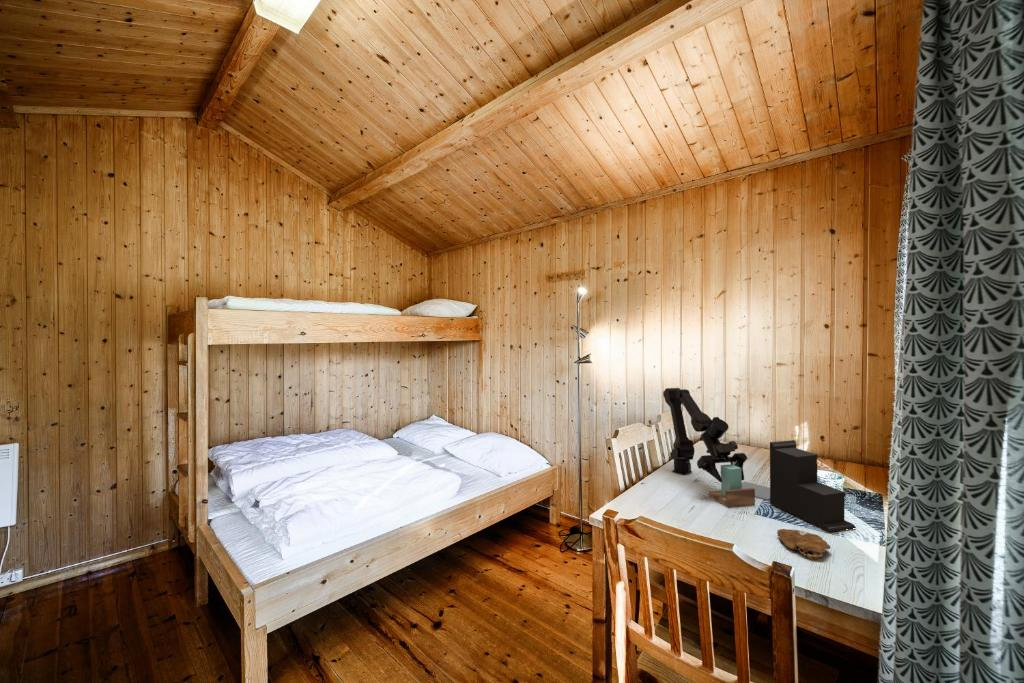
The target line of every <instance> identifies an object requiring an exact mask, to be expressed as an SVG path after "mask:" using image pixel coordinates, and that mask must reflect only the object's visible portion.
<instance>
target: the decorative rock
mask: <svg viewBox="0 0 1024 683" xmlns="http://www.w3.org/2000/svg"><path fill="white" fill-rule="evenodd" d="M777 537H778V538H779V540H780V541H781V542H782V543H783V544H784V545H785V546H786V547H787V548H790V549H791V550H796V551H797V550H798V551H799V553H800V554H802V555H803V556H804V557H805V558H807V559H809V560H811V559H812V560H815V559H816V560H818V559H821V558H822V557H823V554H824V552H825V551H826V550H830V549H831V548H832V547H831V545H830V544H828V542H827V541H826V540H825V539H823V537H821V536H820V535H818V534H815V533H811V532H808V531H804V530H798V529H789V528H788V529H786V528H781V529H777Z"/></svg>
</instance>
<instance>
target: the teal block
mask: <svg viewBox="0 0 1024 683" xmlns="http://www.w3.org/2000/svg"><path fill="white" fill-rule="evenodd" d="M720 476H721V479H722V482H720V490H721V494H723V495H725V496H726V490H734V489H742V483H743V480H742V473H741V468H739V467H737V466H735V465H733V464H731V463H730V464H721V465H720Z"/></svg>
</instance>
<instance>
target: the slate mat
mask: <svg viewBox="0 0 1024 683" xmlns="http://www.w3.org/2000/svg"><path fill="white" fill-rule="evenodd" d="M746 488H754V489H755V498H756V497H757V498H756V499H760V498H761V500H764V501H767V500H768V501H770V500H769V499H770V486H765V485H761V484H757V483H753V482H749V481H742V489H746Z"/></svg>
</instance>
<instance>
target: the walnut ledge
mask: <svg viewBox="0 0 1024 683" xmlns="http://www.w3.org/2000/svg"><path fill="white" fill-rule="evenodd" d="M709 498H711V499H713V500H715V501H716V502H718V503H720V504H722V505H723V506H725V507H726V508H739V507H747V506H748V507H749V506H750V505H751V506H756V497H755V489H754V488H746V489H734V490H726V496H725V495H723V494H721V489H720V490H710V491H709ZM751 506H750V507H751Z"/></svg>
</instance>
